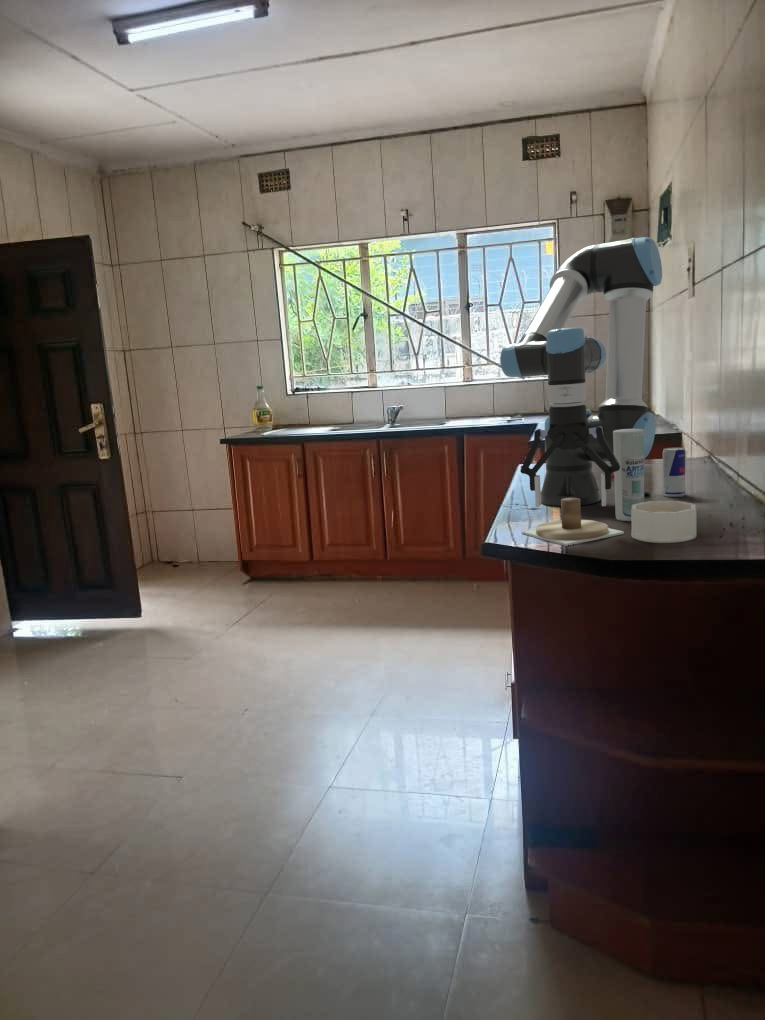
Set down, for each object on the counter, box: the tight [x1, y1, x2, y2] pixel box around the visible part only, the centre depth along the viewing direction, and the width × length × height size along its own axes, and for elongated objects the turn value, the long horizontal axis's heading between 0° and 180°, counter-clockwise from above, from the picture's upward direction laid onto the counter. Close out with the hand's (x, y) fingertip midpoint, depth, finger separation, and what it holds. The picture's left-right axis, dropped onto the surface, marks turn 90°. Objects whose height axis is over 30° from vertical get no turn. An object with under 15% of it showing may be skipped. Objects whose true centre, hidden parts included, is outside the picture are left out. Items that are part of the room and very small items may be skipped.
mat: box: [521, 527, 625, 547], centre depth 160 cm, size 15×15×1 cm
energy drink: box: [662, 447, 687, 498], centre depth 190 cm, size 5×5×12 cm
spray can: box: [613, 429, 645, 522], centre depth 168 cm, size 6×6×20 cm
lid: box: [535, 498, 609, 540], centre depth 159 cm, size 15×15×7 cm
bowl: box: [630, 500, 698, 544], centre depth 152 cm, size 12×12×6 cm
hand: (570, 505), depth 159 cm, fingers open, 13 cm apart
